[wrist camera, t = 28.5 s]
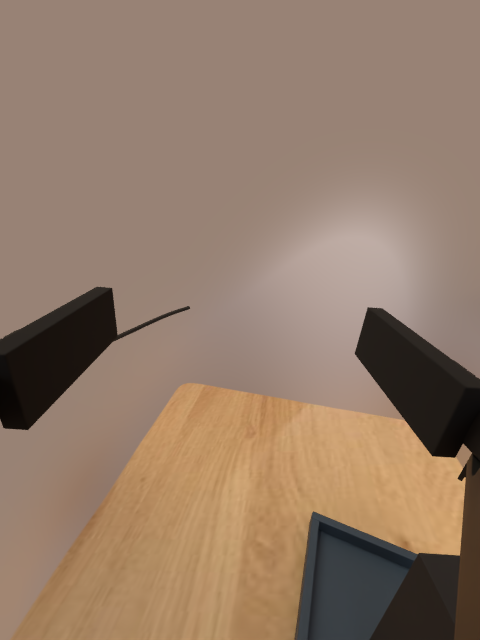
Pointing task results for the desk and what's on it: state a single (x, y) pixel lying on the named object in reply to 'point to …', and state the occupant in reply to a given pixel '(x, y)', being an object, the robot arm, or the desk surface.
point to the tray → (347, 581)
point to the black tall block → (423, 601)
